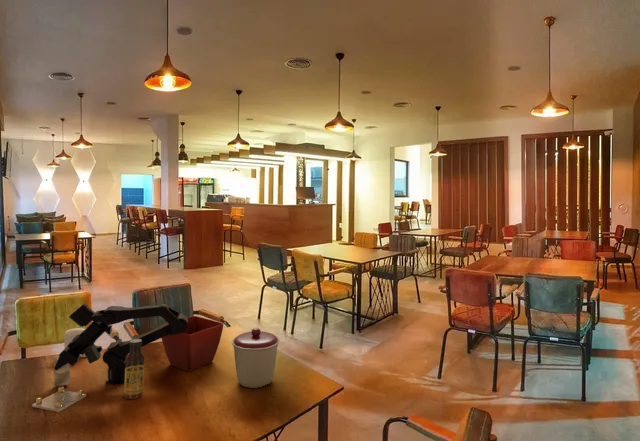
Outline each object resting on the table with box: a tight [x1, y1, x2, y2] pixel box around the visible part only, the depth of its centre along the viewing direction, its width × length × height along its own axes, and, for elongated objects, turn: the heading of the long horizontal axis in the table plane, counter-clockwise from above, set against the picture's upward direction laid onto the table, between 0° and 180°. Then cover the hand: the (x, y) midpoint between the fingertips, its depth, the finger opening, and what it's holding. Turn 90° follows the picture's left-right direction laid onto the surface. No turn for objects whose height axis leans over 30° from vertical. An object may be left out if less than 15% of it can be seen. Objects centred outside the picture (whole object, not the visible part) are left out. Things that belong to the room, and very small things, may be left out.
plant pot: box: [159, 315, 224, 372], centre depth 172 cm, size 19×19×17 cm
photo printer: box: [64, 327, 87, 358], centre depth 178 cm, size 10×4×12 cm, turn 98°
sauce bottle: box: [123, 338, 145, 400], centre depth 143 cm, size 6×6×20 cm
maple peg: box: [53, 354, 71, 387], centre depth 150 cm, size 5×5×10 cm
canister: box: [231, 327, 281, 389], centre depth 156 cm, size 18×18×21 cm
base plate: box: [31, 386, 87, 413], centre depth 139 cm, size 11×11×2 cm
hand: (57, 366), depth 149 cm, fingers closed on maple peg, 5 cm apart
